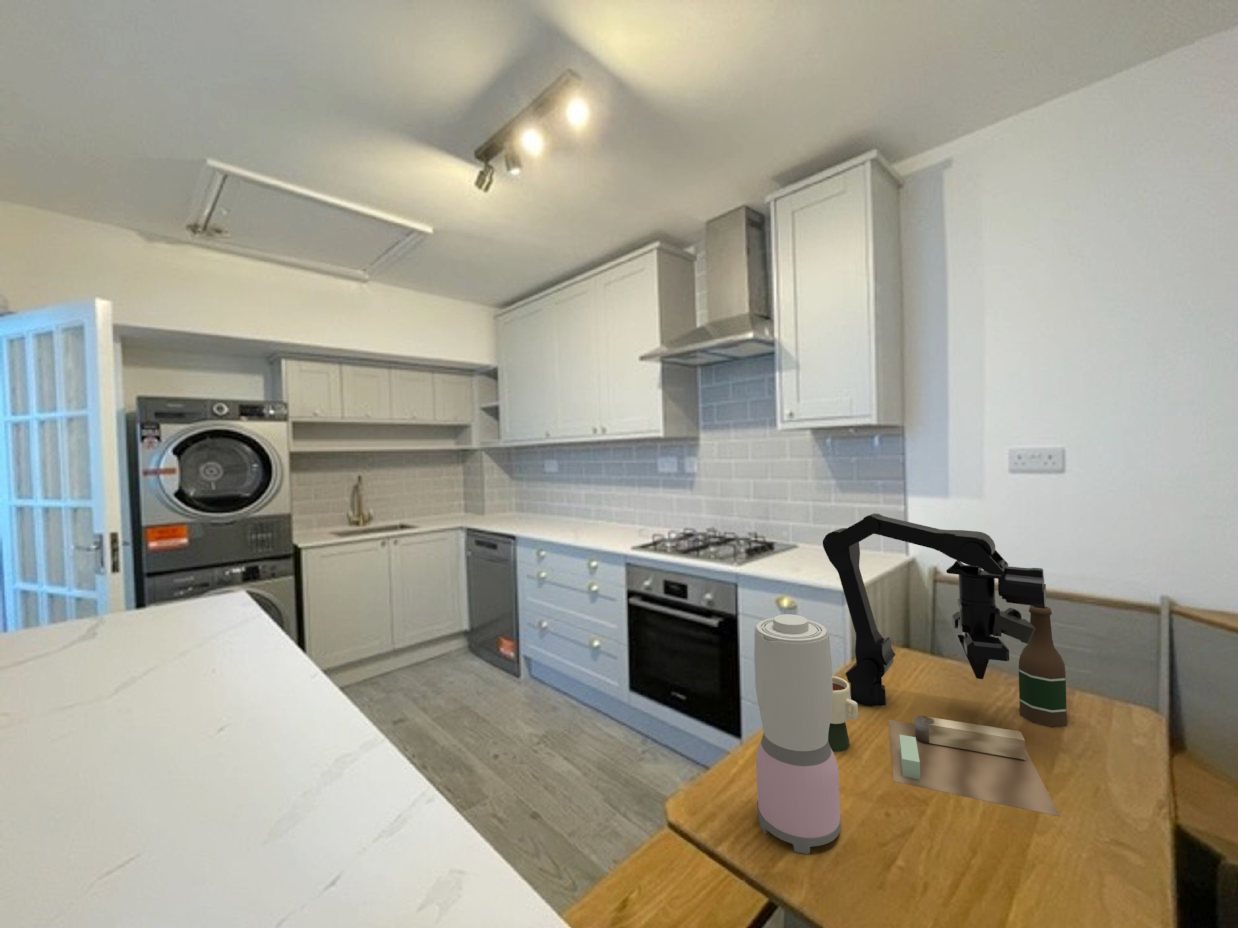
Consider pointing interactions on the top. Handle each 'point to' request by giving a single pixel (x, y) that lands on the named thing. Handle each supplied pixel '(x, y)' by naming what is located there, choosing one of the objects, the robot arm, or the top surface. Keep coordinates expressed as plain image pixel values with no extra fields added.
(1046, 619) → the beer bottle
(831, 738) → the character mug
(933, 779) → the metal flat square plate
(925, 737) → the fold-out leg
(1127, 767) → the top surface
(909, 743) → the block
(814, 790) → the blender
